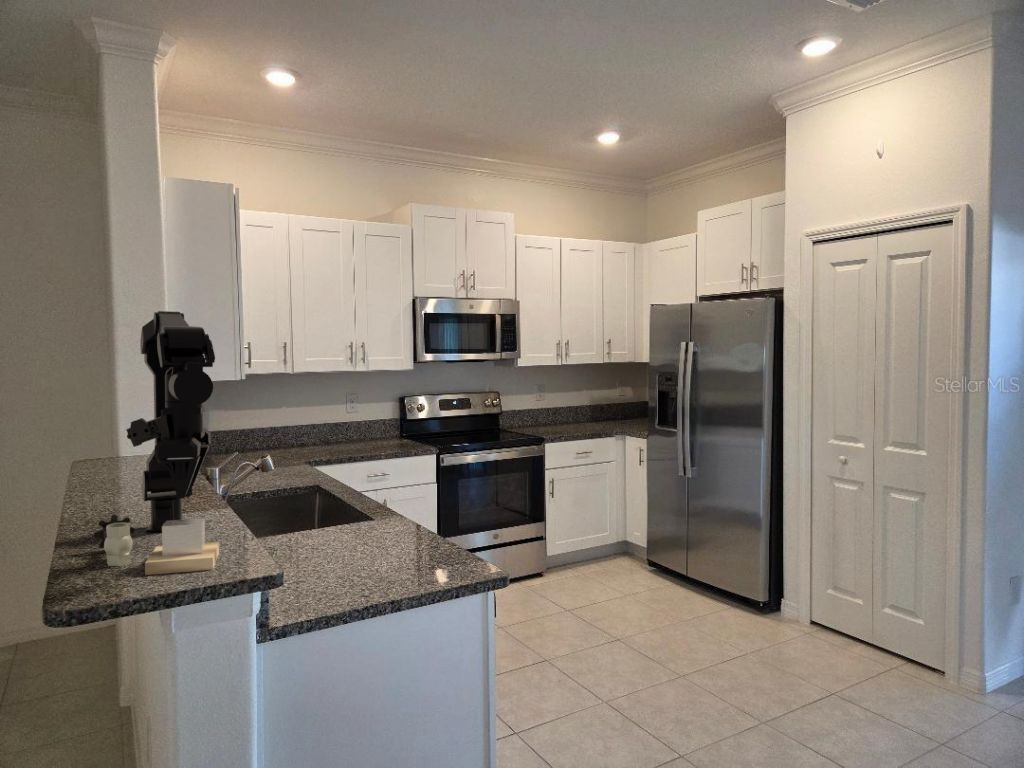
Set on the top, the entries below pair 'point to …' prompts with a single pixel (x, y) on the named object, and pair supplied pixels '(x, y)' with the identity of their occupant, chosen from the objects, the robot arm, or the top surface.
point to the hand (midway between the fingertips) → (185, 492)
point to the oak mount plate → (182, 561)
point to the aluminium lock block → (183, 537)
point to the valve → (116, 540)
